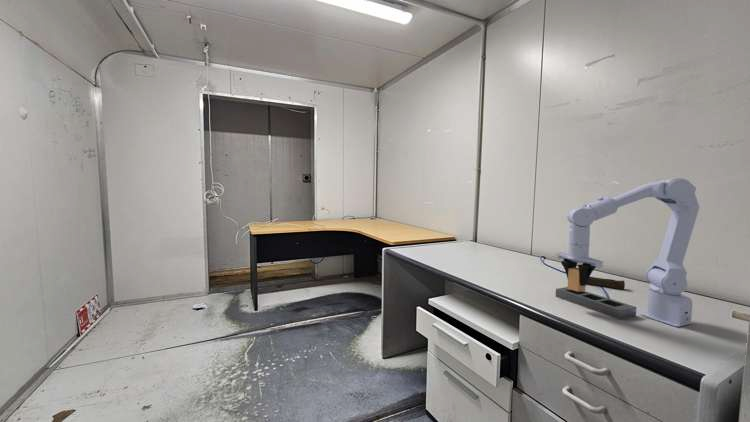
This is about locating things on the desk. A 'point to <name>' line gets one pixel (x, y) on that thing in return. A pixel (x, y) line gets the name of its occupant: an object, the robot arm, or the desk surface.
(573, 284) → the peg
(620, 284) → the hand tool
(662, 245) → the robot arm
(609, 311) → the grey slotted block
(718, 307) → the desk surface
